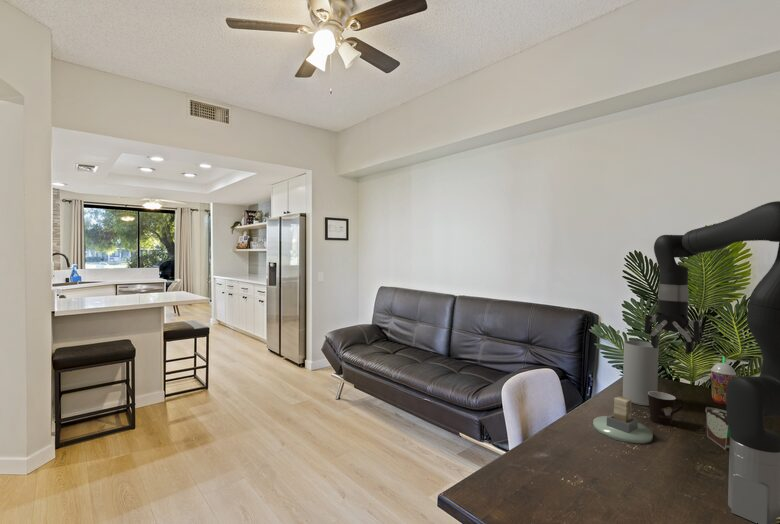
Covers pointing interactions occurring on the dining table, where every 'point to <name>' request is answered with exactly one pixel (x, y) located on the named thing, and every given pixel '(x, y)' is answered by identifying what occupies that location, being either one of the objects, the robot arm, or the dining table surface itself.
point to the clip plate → (623, 430)
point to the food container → (718, 427)
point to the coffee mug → (662, 407)
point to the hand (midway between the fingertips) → (671, 350)
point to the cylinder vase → (639, 371)
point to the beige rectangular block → (622, 409)
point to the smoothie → (721, 381)
